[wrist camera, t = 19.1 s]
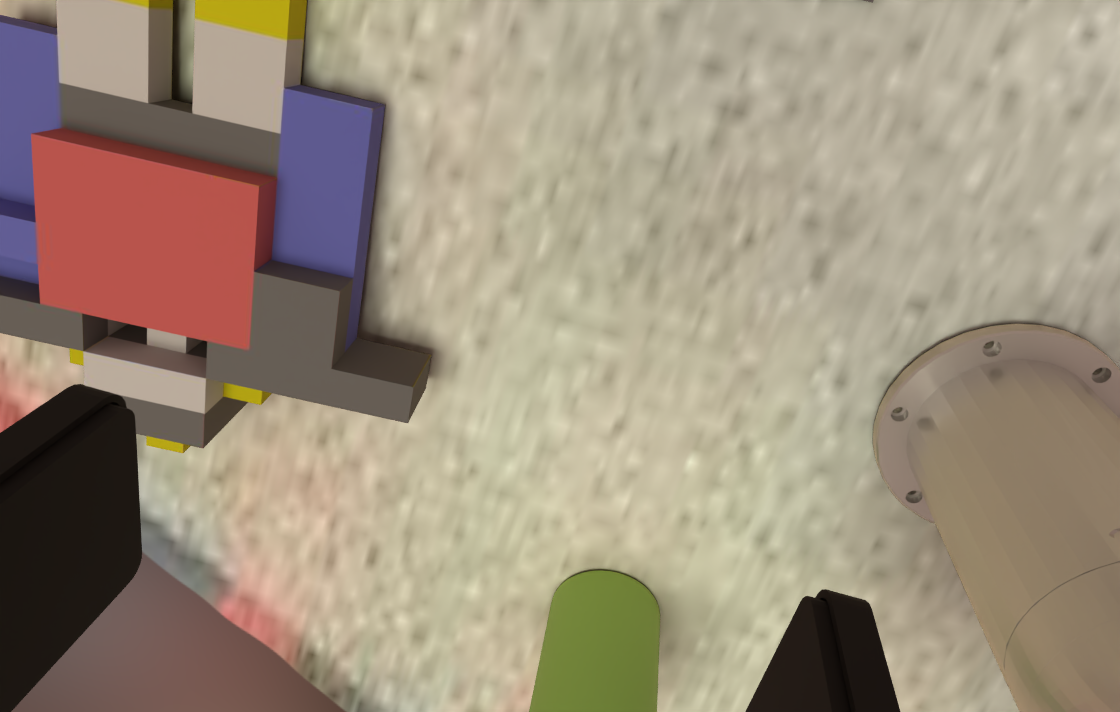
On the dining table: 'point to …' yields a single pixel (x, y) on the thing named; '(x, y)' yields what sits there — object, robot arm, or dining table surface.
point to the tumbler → (599, 647)
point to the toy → (191, 215)
